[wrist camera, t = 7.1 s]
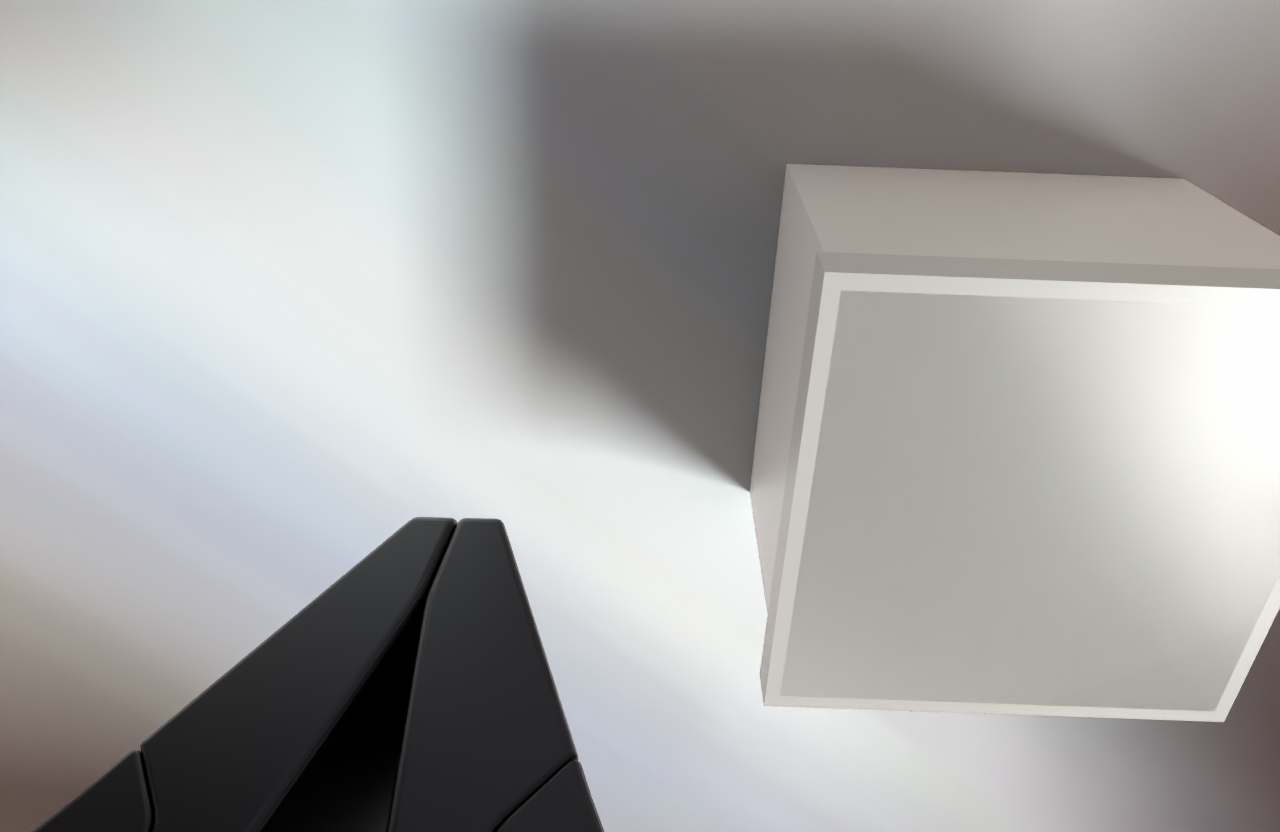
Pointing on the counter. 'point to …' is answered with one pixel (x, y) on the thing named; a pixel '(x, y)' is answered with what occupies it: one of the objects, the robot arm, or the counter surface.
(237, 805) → the robot arm
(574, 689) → the counter surface
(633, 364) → the counter surface
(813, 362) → the base block
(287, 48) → the counter surface
